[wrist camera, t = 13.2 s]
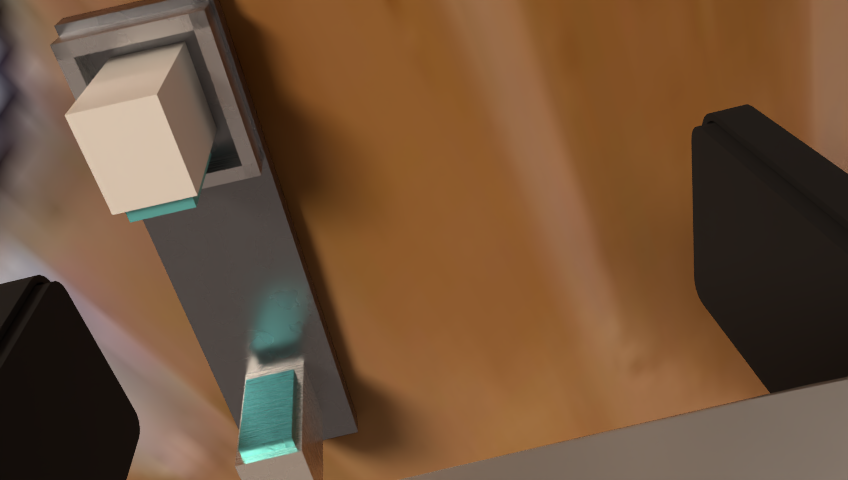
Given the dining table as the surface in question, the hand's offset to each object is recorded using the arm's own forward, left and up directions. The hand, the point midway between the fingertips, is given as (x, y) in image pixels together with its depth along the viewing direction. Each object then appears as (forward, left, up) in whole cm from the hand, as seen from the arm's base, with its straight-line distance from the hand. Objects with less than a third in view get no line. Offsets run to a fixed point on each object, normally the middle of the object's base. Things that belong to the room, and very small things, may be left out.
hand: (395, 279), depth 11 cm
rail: (-17, +11, -32) cm, 38 cm away
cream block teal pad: (-6, +11, -30) cm, 33 cm away
